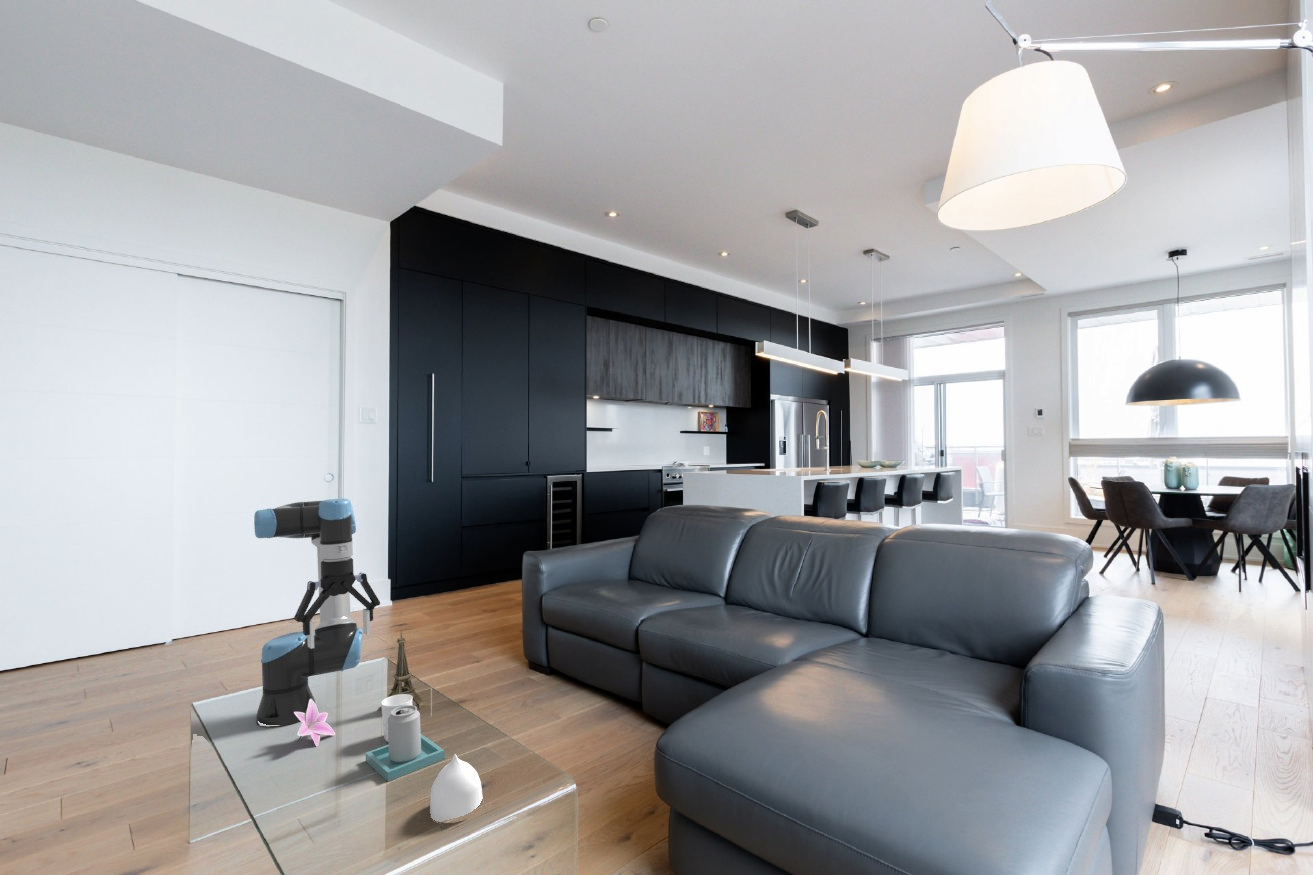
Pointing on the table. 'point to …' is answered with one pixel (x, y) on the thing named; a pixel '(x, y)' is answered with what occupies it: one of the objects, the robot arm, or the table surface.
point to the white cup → (391, 704)
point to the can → (404, 734)
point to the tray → (395, 770)
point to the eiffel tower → (404, 677)
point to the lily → (313, 723)
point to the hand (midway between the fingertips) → (339, 640)
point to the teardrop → (455, 791)
